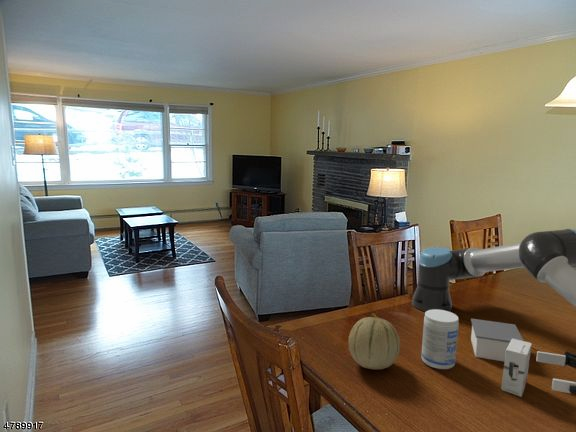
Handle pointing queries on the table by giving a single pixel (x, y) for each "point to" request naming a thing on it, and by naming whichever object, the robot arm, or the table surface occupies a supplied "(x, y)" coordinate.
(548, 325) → the table surface
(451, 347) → the supplement tub
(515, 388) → the ink box
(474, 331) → the podium
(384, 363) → the cantaloupe
